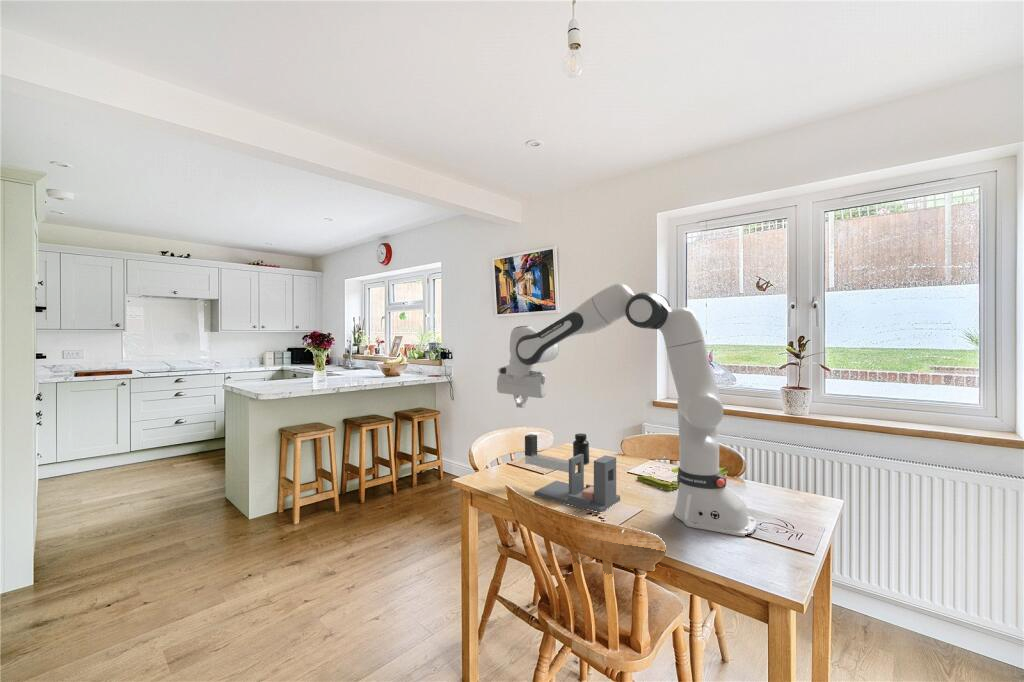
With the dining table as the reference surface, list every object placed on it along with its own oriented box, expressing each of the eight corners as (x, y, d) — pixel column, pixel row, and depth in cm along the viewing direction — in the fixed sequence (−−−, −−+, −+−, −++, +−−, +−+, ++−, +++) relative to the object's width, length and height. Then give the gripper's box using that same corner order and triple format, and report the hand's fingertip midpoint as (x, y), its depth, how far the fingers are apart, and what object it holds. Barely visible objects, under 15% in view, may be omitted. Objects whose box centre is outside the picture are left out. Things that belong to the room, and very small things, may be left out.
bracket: (620, 500, 149) (620, 455, 149) (600, 513, 138) (600, 465, 138) (556, 484, 165) (556, 443, 164) (534, 495, 153) (534, 452, 153)
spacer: (591, 486, 151) (591, 493, 151) (581, 491, 147) (581, 498, 147) (601, 488, 149) (601, 496, 149) (592, 493, 144) (592, 501, 144)
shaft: (575, 470, 153) (575, 441, 153) (570, 473, 151) (570, 443, 150) (530, 461, 165) (530, 434, 165) (524, 463, 162) (524, 435, 162)
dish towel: (635, 481, 169) (635, 473, 169) (694, 465, 188) (694, 458, 188) (669, 493, 156) (669, 484, 156) (729, 475, 176) (729, 467, 175)
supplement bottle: (584, 459, 197) (583, 432, 196) (592, 463, 190) (592, 435, 190) (570, 461, 194) (570, 433, 194) (577, 465, 188) (577, 437, 187)
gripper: (549, 371, 161) (549, 409, 161) (505, 367, 173) (504, 403, 174) (539, 372, 156) (539, 412, 156) (494, 368, 168) (494, 405, 169)
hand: (520, 407), depth 165 cm, fingers closed
